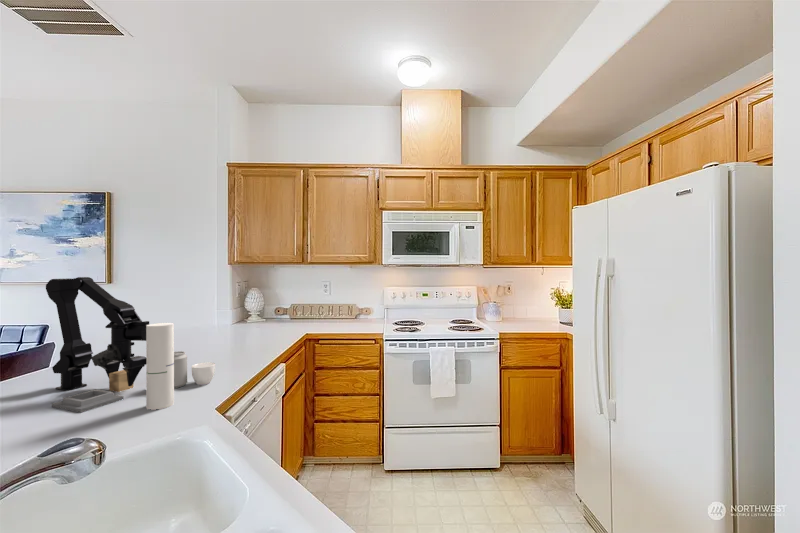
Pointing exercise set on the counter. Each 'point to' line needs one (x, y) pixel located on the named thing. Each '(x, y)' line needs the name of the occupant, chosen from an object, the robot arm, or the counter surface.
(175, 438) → the counter surface
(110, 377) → the oak block
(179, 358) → the can
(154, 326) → the cylindrical container
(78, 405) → the grey tray
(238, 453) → the counter surface
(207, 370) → the cup
